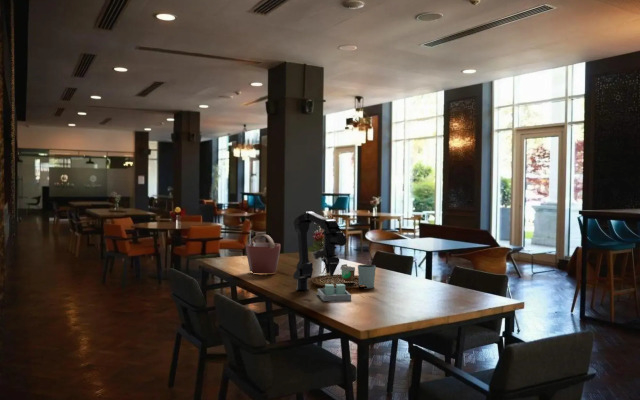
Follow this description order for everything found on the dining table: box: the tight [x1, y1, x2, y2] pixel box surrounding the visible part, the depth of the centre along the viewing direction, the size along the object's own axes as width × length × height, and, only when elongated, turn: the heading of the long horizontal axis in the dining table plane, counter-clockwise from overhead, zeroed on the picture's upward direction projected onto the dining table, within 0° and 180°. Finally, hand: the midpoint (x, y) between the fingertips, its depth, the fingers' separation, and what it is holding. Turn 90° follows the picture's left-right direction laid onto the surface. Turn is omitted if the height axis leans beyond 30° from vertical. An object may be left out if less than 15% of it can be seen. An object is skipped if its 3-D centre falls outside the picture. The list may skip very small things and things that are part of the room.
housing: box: [317, 283, 352, 302], centre depth 260 cm, size 17×14×6 cm
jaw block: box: [324, 283, 335, 295], centre depth 260 cm, size 4×4×6 cm
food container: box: [340, 263, 356, 282], centre depth 299 cm, size 12×6×10 cm, turn 21°
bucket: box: [245, 234, 281, 273], centre depth 331 cm, size 24×22×25 cm
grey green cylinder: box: [357, 264, 377, 289], centre depth 288 cm, size 10×10×12 cm
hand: (329, 274), depth 260 cm, fingers open, 9 cm apart
